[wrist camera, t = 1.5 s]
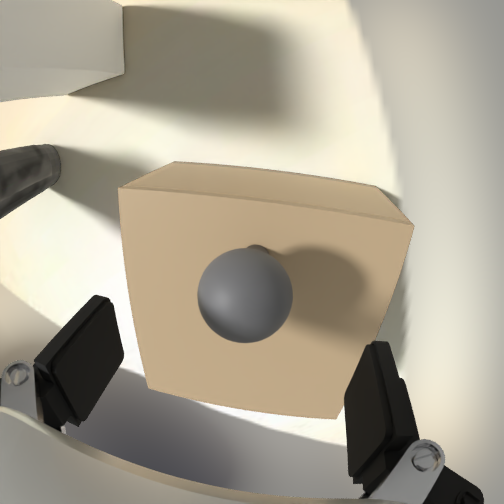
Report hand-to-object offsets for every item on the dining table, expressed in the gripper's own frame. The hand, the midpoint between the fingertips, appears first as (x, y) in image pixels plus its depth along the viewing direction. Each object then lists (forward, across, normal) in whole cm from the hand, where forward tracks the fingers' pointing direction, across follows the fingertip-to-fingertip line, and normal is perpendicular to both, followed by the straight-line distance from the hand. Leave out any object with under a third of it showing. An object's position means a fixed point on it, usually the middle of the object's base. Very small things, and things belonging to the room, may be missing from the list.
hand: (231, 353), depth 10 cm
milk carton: (+15, +17, -14) cm, 27 cm away
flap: (+7, 0, +5) cm, 9 cm away
